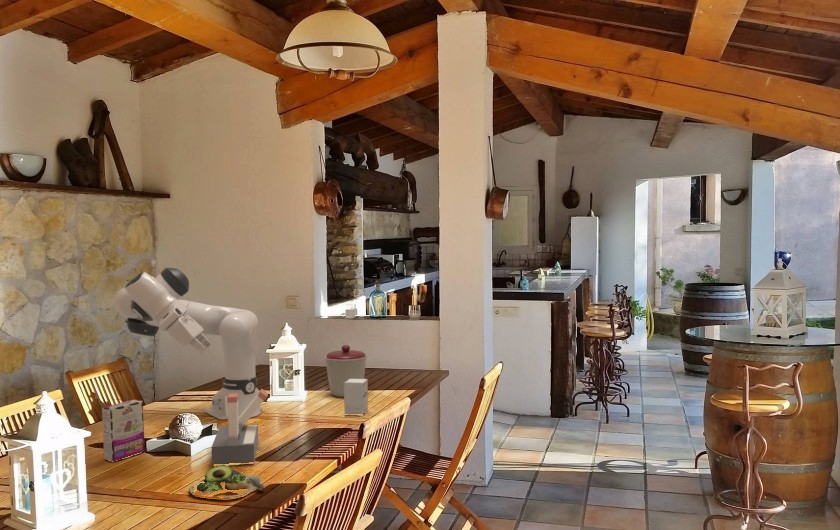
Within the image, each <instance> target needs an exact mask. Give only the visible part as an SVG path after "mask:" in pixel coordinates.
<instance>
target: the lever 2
mask: <svg viewBox="0 0 840 530" xmlns="http://www.w3.org/2000/svg"><path fill="white" fill-rule="evenodd" d="M268 394H269V393H268V392H267V391H266V390H264V389H263V388H261V389H260V390H259V392H258V394H257V395H256V397H255V398H254V399H253V400H252V401H251V403H250V404H249V405H248V406H247V408H246V409H245V410H244V411H243V412H242V414H241V415H240V416H239V417H238V423H242V427H243V426H244V425H246V423H247V422H248V421H249V419H251V418H252V417H251V416H252V415H253V413H254V412H255V411H256V410H257V409H258V407H259V406H260V407H261V405H262V403H263V402H265V401H266V400H267V398H268Z"/></svg>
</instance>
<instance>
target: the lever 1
mask: <svg viewBox="0 0 840 530" xmlns="http://www.w3.org/2000/svg"><path fill="white" fill-rule="evenodd" d="M227 420H228V426H229V437H233V436H238V433H239V426H238V393H229V395H228V419H227Z"/></svg>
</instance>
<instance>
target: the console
mask: <svg viewBox="0 0 840 530" xmlns="http://www.w3.org/2000/svg"><path fill="white" fill-rule="evenodd" d="M238 426H239V433H238V436H233V437H229V425H220V426H219V428H218V430H217V432H216V435H215V438H214V440H213V442H212V444H211V466H212V465H214V464H229V463H249V462H254V461H255V462H256V458H255V455H256V456H257V452H256V450H257V451H258V447H257V445H259V424H258V423H255V424H244V426H243V427H242V423H238Z"/></svg>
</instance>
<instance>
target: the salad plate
mask: <svg viewBox="0 0 840 530" xmlns="http://www.w3.org/2000/svg"><path fill="white" fill-rule="evenodd" d="M202 481H204V482H205V483H200V482H202ZM221 482H225V489H227V490H239V489H248V491H246V492H244V493H242V494H238V495H236V494H235V495H226V496H223V497H224V498H225V497H226V498H230V497H238V496H242V495H245V494H247V493H248V492H250V491H251V490H255V489H257V490H263V489H265V488H266V486H265V485H264V484H262V483H263V482H262V479H261V477H259V476H255V475H247V474H243V473H241V472H239V471H237V470H235V469H233V468H232V466H226V465H220V466H216V467H211V468H210V469H208V470H207V471H206V472H205V474H204V479H203V480H201V481H198V482H196V483H194V484H191V486H190V487H189V488H188V491H189V490H190V491H191V492H192V493H195V492H194V491H193V488H194V486H195V485H197V484H198V483H200V484H199V485H197V490H199V491H202V492H203V493H211V492H215V491H218V490H223V488H222V486H221V485H220V483H221Z"/></svg>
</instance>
